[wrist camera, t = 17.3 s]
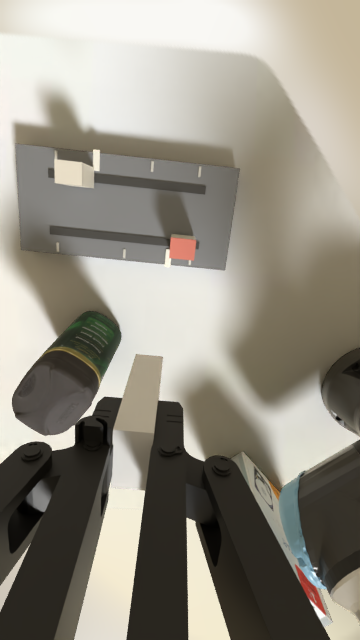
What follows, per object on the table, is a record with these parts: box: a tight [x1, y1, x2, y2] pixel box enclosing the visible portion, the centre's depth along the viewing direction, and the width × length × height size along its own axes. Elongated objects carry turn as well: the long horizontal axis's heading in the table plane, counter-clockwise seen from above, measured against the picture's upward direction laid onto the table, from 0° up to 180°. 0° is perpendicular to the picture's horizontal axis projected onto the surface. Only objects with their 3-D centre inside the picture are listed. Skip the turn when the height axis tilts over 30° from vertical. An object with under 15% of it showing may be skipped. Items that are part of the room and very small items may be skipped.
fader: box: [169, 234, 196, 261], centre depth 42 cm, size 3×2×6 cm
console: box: [15, 144, 240, 270], centre depth 45 cm, size 28×14×3 cm, turn 84°
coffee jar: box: [12, 311, 121, 436], centre depth 44 cm, size 10×8×19 cm
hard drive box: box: [231, 451, 333, 627], centre depth 53 cm, size 16×8×20 cm, turn 38°
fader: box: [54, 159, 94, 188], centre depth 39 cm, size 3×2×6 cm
